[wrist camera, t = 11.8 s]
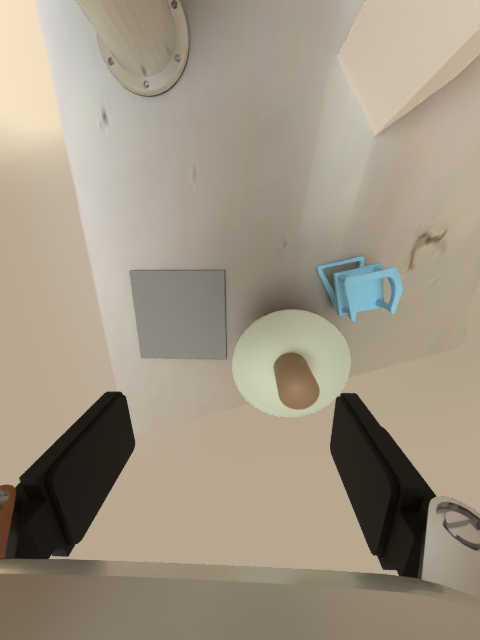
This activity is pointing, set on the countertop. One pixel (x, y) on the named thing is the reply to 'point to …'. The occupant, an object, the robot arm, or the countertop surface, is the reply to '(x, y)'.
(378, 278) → the chair
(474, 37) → the milk
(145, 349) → the mat
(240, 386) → the lid
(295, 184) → the countertop surface
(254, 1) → the countertop surface
